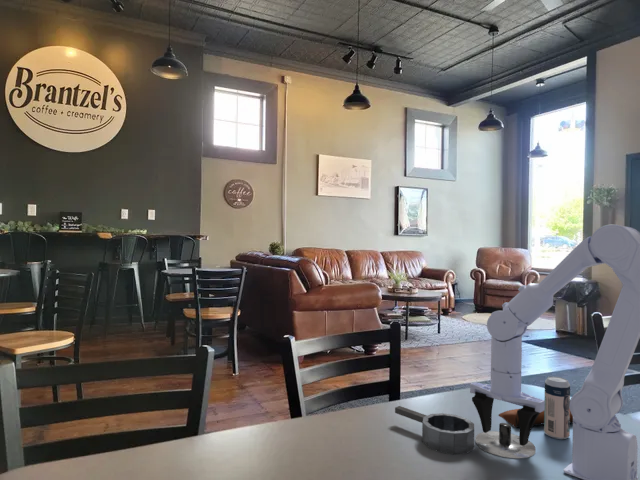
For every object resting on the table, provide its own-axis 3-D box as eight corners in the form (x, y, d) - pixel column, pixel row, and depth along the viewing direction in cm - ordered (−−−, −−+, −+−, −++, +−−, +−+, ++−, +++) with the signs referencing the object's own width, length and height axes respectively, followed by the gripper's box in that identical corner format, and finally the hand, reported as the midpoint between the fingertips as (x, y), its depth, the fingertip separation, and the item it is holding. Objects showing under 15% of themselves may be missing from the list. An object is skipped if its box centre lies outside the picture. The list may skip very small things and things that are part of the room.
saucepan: (483, 444, 91) (483, 424, 91) (456, 459, 85) (456, 437, 85) (410, 417, 105) (411, 400, 105) (382, 428, 98) (382, 410, 98)
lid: (545, 448, 91) (545, 426, 91) (519, 466, 83) (520, 442, 83) (492, 430, 99) (492, 410, 99) (464, 445, 92) (465, 423, 92)
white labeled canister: (572, 441, 93) (573, 383, 93) (547, 439, 94) (548, 381, 94) (565, 432, 98) (565, 376, 98) (541, 430, 99) (542, 375, 99)
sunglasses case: (562, 410, 111) (573, 391, 107) (580, 435, 105) (592, 416, 101) (495, 414, 107) (504, 395, 104) (510, 440, 101) (519, 420, 98)
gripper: (462, 365, 94) (461, 430, 94) (534, 382, 83) (532, 456, 83) (480, 359, 99) (479, 422, 99) (549, 375, 88) (548, 445, 88)
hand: (504, 437), depth 91 cm, fingers open, 7 cm apart
